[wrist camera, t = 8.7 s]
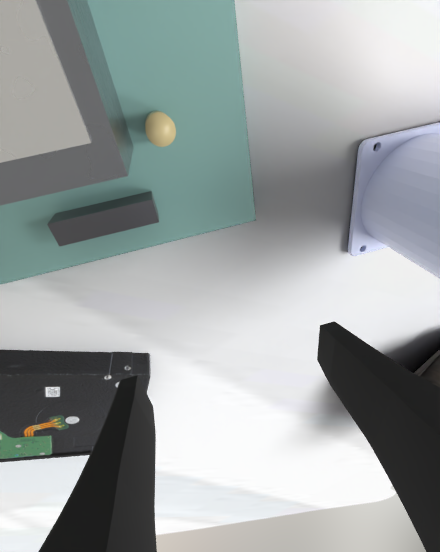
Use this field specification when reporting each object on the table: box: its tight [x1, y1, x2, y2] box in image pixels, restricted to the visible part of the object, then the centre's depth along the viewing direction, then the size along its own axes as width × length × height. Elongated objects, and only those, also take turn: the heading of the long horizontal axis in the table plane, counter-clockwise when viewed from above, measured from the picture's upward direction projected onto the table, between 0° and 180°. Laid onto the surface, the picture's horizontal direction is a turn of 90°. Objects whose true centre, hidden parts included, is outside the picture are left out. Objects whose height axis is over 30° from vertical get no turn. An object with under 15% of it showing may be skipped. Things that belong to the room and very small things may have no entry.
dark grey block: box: [0, 0, 134, 206], centre depth 9 cm, size 4×7×6 cm, turn 10°
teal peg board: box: [0, 0, 256, 284], centre depth 11 cm, size 16×18×4 cm
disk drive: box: [0, 350, 150, 462], centre depth 22 cm, size 10×3×15 cm
